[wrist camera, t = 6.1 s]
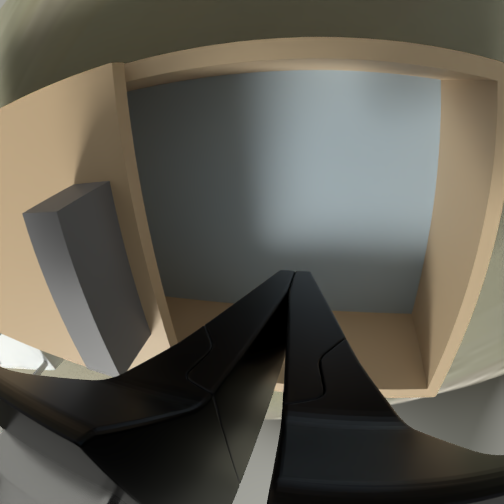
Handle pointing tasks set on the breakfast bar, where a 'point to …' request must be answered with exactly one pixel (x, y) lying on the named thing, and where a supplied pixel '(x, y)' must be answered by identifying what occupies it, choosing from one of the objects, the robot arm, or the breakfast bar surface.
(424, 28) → the breakfast bar surface
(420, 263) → the box
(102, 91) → the lid
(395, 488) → the robot arm
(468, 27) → the breakfast bar surface
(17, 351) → the file sorter
